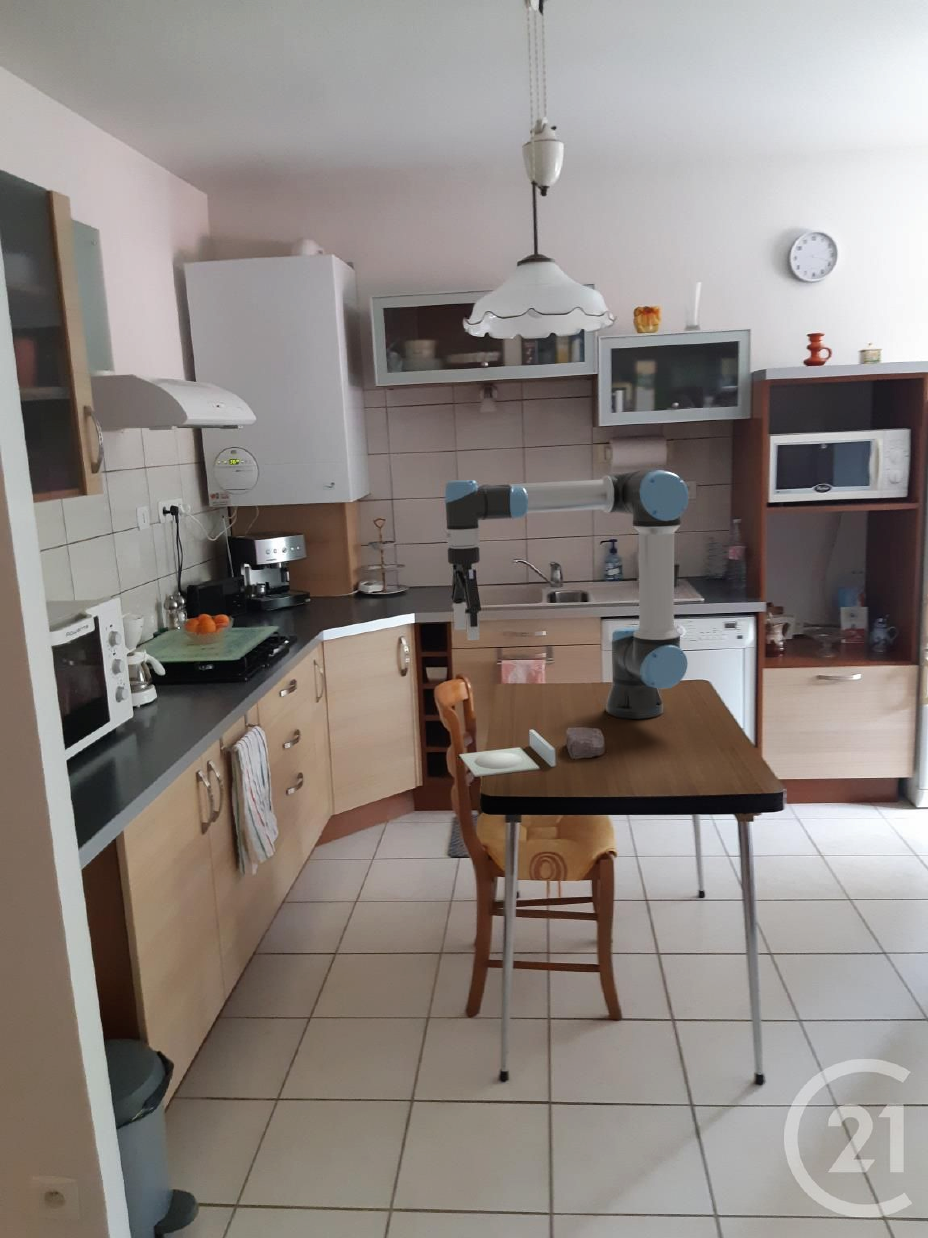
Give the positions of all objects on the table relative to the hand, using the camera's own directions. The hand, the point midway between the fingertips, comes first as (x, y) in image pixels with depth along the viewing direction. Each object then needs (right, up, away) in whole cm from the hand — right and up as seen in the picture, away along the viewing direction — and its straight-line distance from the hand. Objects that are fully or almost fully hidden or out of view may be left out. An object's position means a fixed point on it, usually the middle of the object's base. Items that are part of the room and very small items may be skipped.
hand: (466, 634), depth 222 cm
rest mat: (+7, -29, -7) cm, 31 cm away
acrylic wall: (+18, -28, -4) cm, 34 cm away
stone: (+28, -28, -1) cm, 40 cm away
